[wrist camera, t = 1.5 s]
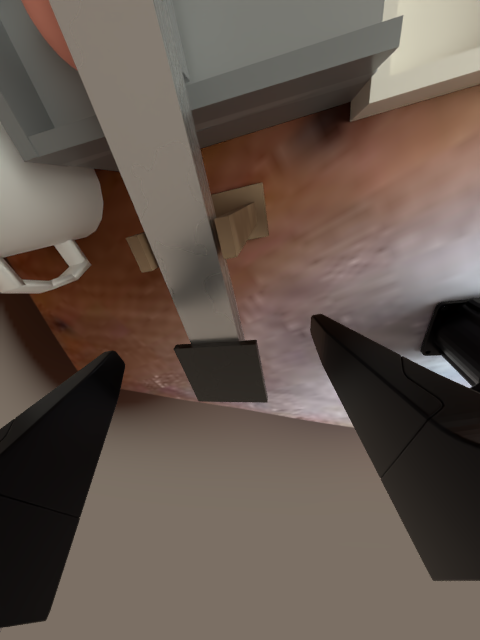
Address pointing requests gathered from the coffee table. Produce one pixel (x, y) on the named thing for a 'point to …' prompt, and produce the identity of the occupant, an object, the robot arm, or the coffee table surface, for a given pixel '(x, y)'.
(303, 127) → the coffee table surface
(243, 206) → the lever stand
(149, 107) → the lever
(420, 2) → the cream square tray
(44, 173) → the mug
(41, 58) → the chute
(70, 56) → the ball
